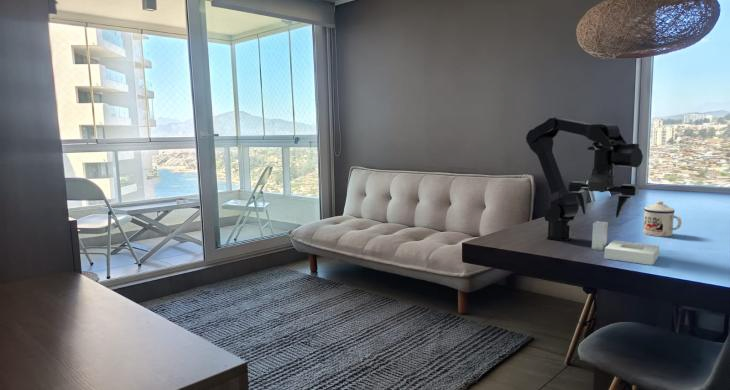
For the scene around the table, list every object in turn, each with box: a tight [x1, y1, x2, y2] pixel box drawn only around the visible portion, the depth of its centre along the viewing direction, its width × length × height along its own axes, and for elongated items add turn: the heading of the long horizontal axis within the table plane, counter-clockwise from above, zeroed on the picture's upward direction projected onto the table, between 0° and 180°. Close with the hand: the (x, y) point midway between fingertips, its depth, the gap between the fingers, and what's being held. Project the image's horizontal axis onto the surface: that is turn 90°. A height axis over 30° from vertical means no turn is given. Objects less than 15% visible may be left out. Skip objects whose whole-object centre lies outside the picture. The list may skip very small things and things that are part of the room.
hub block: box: [603, 239, 660, 266], centre depth 136 cm, size 12×12×3 cm
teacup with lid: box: [642, 200, 683, 238], centre depth 163 cm, size 12×9×12 cm
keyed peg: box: [591, 220, 609, 251], centre depth 147 cm, size 3×5×8 cm
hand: (600, 215), depth 146 cm, fingers open, 9 cm apart
